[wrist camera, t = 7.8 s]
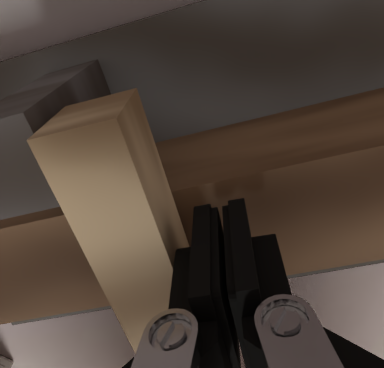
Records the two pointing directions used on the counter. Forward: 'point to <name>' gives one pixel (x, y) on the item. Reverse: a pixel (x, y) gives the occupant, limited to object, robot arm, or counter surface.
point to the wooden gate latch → (209, 135)
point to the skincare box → (5, 362)
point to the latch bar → (115, 201)
